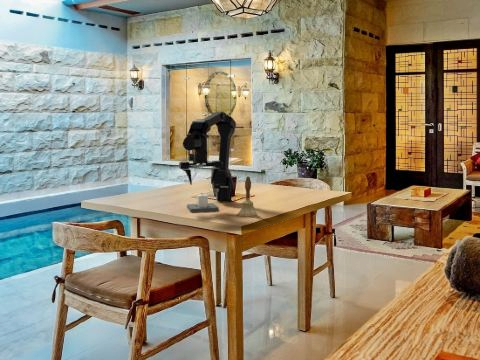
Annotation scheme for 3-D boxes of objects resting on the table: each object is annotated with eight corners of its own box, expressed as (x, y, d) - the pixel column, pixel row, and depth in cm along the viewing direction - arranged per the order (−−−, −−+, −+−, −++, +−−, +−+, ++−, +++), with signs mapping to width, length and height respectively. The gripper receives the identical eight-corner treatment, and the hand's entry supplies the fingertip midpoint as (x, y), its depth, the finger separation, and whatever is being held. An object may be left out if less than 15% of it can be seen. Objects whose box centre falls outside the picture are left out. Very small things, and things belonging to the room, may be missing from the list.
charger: (206, 207, 231) (205, 194, 230) (207, 209, 227) (207, 195, 227) (197, 208, 230) (197, 194, 229) (198, 209, 226) (198, 195, 226)
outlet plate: (213, 206, 236) (213, 202, 236) (218, 211, 225) (218, 207, 224) (186, 207, 233) (186, 203, 233) (191, 212, 222) (191, 208, 221)
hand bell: (256, 212, 221) (256, 175, 219) (258, 216, 212) (258, 177, 210) (237, 212, 220) (237, 175, 218) (237, 216, 212) (237, 178, 210)
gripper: (217, 147, 236) (218, 181, 238) (176, 148, 232) (177, 182, 234) (223, 148, 226) (223, 184, 228) (180, 149, 221) (181, 186, 223)
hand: (201, 184), depth 228 cm, fingers open, 9 cm apart
